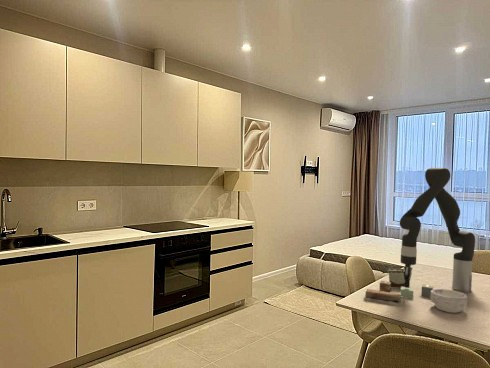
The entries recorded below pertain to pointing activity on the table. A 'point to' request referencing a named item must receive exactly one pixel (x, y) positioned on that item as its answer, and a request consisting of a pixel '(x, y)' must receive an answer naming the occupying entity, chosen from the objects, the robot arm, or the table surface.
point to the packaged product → (384, 297)
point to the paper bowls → (448, 300)
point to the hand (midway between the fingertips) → (407, 287)
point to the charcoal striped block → (426, 290)
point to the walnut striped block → (385, 286)
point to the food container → (396, 277)
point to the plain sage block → (407, 292)
